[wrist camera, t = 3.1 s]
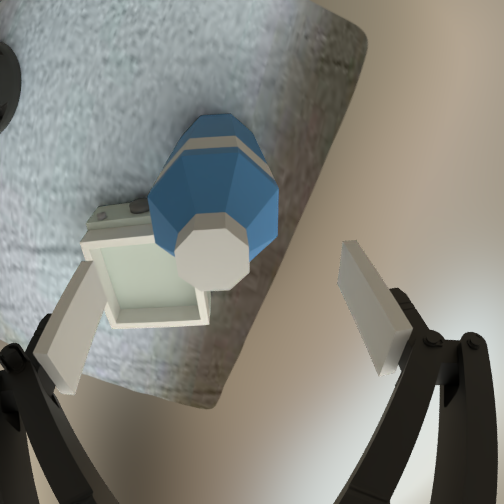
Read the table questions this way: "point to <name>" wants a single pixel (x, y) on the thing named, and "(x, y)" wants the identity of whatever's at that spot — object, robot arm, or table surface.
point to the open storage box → (139, 271)
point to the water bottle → (214, 203)
